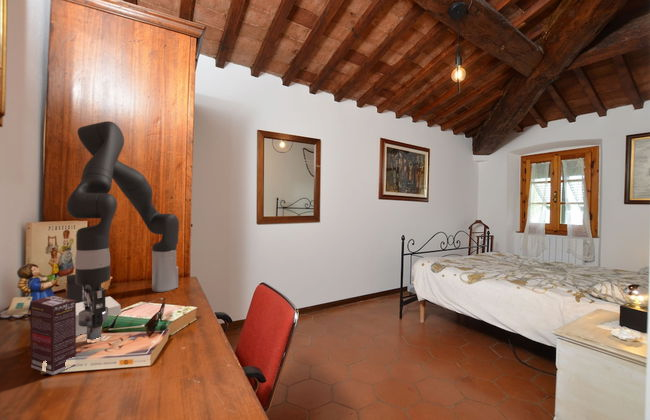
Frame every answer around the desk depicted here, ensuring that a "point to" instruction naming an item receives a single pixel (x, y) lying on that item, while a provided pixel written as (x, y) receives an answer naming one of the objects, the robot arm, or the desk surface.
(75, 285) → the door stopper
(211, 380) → the desk surface
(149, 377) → the desk surface
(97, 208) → the robot arm
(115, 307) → the block
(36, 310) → the supplement box
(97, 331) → the grey mushroom knob
